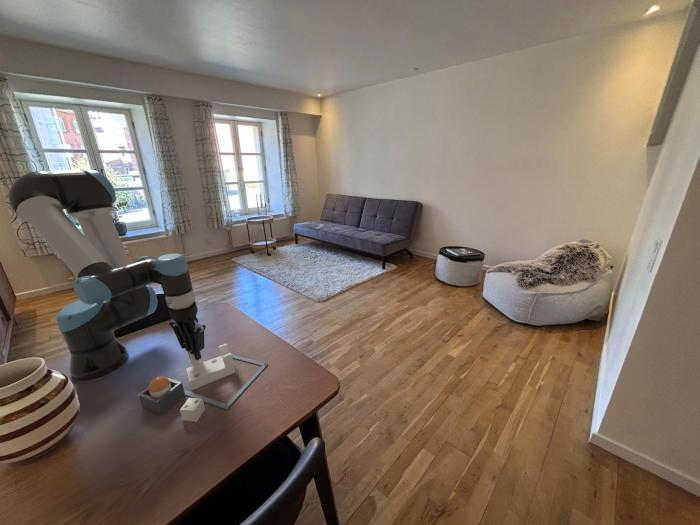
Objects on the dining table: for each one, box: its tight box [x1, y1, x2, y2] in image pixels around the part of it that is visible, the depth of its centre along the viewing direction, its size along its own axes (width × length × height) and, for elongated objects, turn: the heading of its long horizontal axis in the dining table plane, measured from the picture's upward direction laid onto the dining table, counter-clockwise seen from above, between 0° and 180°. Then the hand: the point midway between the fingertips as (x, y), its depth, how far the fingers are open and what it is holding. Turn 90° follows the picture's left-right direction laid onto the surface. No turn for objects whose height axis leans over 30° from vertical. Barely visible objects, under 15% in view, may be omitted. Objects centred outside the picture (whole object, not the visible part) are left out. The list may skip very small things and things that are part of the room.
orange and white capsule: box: [148, 375, 171, 399], centre depth 80 cm, size 5×5×8 cm
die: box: [179, 397, 206, 422], centre depth 77 cm, size 4×4×4 cm
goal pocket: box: [184, 354, 268, 411], centre depth 90 cm, size 18×19×1 cm
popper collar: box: [137, 376, 186, 417], centre depth 81 cm, size 8×8×5 cm
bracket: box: [185, 343, 236, 391], centre depth 91 cm, size 13×7×8 cm, turn 126°
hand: (197, 366), depth 94 cm, fingers closed
